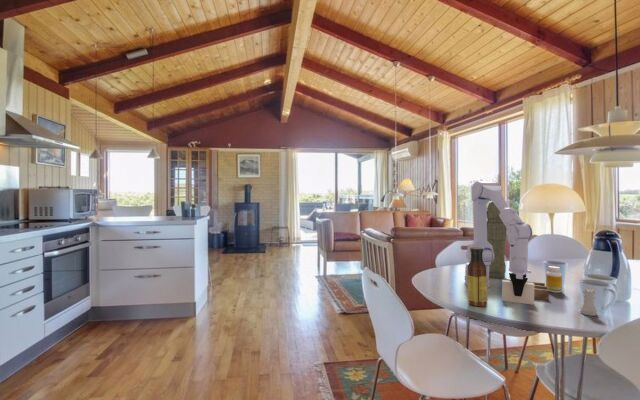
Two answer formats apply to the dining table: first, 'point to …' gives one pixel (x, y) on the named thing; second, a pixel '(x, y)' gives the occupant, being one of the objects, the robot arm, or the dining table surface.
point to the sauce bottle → (477, 279)
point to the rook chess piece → (588, 303)
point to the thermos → (496, 242)
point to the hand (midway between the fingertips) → (517, 294)
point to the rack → (539, 290)
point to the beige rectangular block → (525, 298)
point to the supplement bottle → (554, 279)
